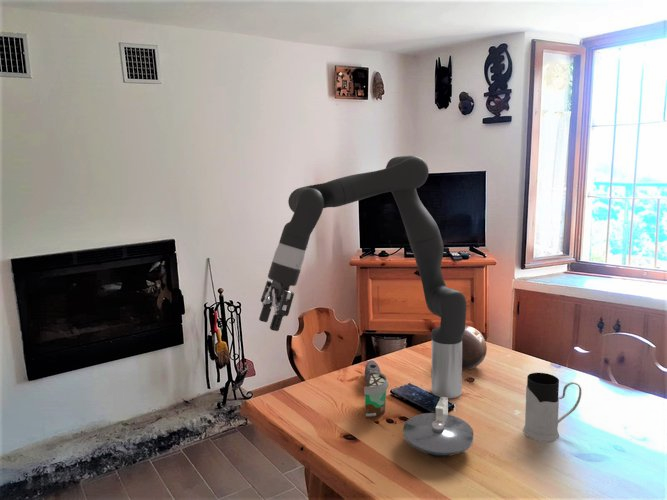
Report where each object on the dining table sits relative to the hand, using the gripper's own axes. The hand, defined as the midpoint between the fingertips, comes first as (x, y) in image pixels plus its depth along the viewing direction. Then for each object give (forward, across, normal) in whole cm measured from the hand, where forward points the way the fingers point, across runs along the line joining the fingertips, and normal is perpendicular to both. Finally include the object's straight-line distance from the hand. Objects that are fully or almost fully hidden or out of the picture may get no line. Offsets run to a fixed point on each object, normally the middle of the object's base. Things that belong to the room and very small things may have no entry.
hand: (268, 325), depth 123 cm
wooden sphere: (+3, +12, -80) cm, 81 cm away
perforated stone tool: (+15, +18, -49) cm, 54 cm away
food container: (+18, 0, -41) cm, 45 cm away
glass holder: (+6, -32, -72) cm, 79 cm away
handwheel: (+14, -24, -43) cm, 50 cm away
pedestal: (+17, -24, -44) cm, 52 cm away
